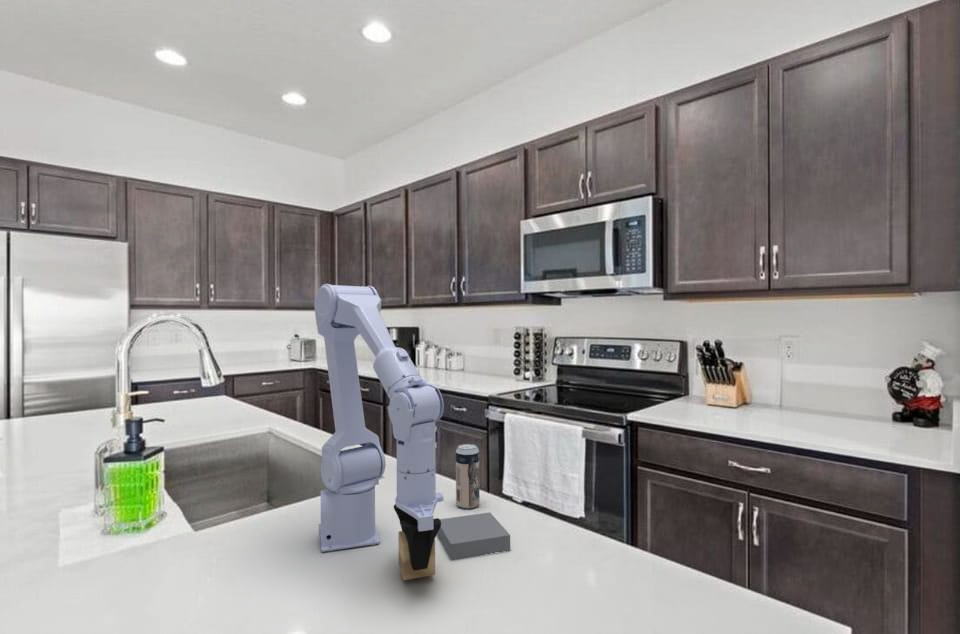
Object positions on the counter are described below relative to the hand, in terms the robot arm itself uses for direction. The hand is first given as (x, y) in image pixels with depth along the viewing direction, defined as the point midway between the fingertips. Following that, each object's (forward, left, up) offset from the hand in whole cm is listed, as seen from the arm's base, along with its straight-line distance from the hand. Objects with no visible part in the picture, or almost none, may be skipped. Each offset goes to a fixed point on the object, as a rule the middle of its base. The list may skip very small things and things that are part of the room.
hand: (416, 559), depth 72 cm
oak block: (0, 0, -1) cm, 1 cm away
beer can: (+15, +24, -3) cm, 28 cm away
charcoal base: (+11, +8, -3) cm, 14 cm away
